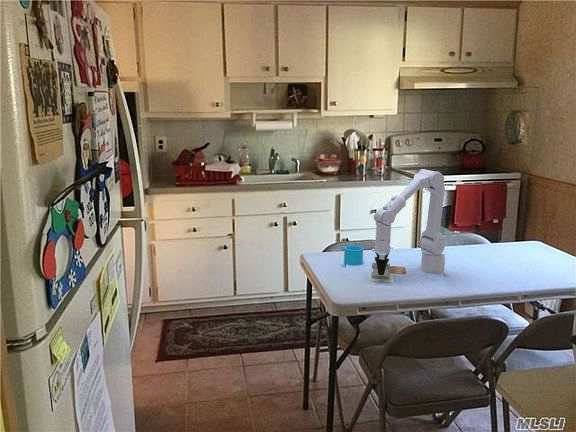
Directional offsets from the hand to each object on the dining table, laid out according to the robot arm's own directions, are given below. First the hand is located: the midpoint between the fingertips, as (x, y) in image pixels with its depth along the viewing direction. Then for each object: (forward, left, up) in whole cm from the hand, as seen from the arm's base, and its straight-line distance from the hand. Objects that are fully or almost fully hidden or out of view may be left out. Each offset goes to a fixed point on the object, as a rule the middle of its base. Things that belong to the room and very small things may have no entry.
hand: (381, 271), depth 207 cm
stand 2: (-5, -11, -4) cm, 13 cm away
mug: (+13, -19, -4) cm, 23 cm away
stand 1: (0, 0, -4) cm, 4 cm away
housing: (0, 0, -2) cm, 2 cm away
